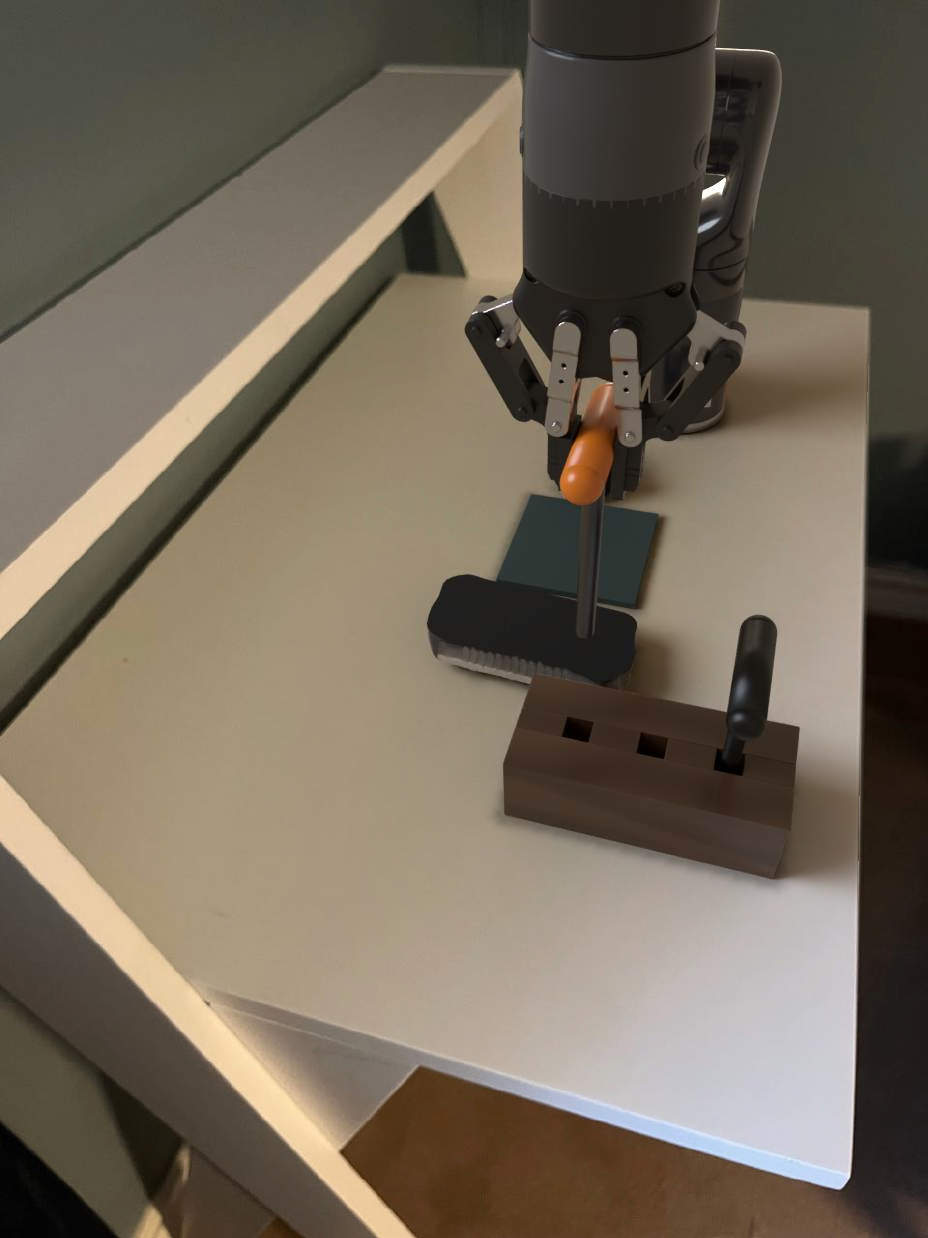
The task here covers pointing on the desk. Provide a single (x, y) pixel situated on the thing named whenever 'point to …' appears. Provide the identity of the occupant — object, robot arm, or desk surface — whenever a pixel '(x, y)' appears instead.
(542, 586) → the mat
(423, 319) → the desk surface
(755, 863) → the tool stand
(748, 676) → the black t handle
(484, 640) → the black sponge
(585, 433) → the amber t handle
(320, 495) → the desk surface
